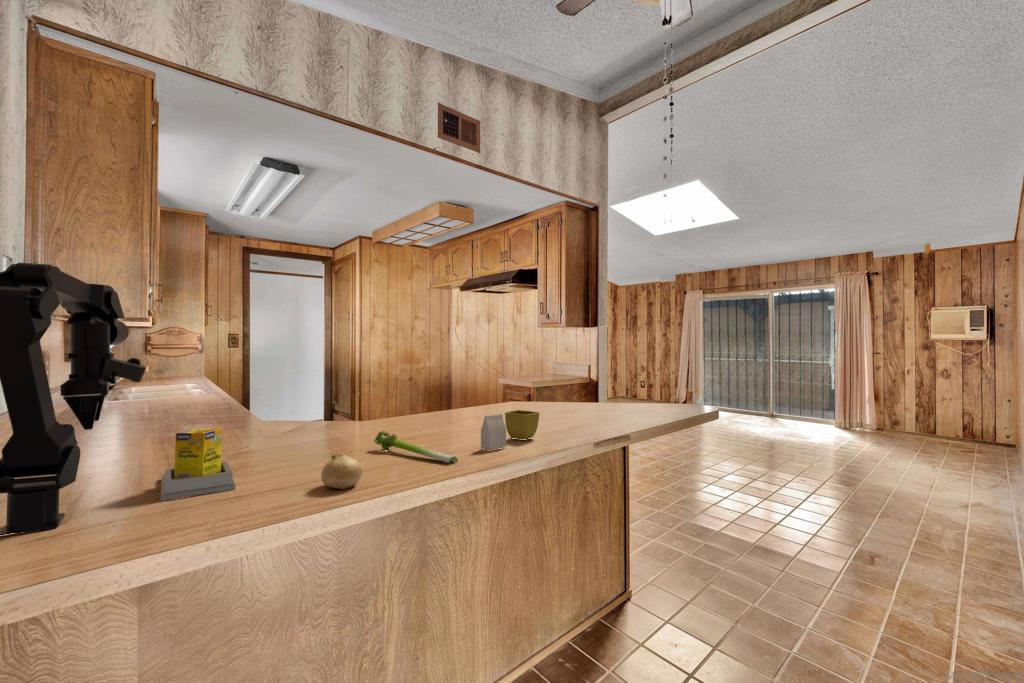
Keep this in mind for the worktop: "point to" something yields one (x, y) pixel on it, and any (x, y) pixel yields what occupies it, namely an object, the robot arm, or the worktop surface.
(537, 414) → the flower pot
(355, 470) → the onion
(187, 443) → the supplement box
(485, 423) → the grey gable carton
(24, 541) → the worktop surface
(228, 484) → the gray rectangular tray
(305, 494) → the worktop surface
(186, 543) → the worktop surface
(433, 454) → the green celery stalk
